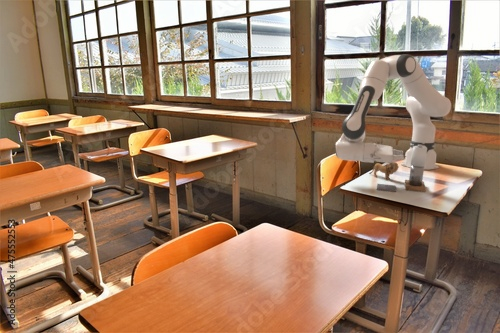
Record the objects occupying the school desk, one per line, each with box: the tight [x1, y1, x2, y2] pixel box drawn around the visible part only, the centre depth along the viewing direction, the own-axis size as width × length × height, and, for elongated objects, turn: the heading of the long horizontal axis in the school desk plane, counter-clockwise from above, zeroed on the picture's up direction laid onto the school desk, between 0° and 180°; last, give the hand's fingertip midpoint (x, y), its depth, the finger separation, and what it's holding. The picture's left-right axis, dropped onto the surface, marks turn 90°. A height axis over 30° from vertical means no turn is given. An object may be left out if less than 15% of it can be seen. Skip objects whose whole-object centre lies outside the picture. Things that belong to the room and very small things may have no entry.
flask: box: [408, 165, 425, 186], centre depth 169 cm, size 5×5×9 cm
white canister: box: [411, 145, 427, 167], centre depth 167 cm, size 6×6×9 cm
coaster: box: [376, 183, 397, 193], centre depth 171 cm, size 8×8×1 cm
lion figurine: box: [368, 161, 399, 181], centre depth 187 cm, size 15×5×9 cm, turn 43°
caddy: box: [404, 179, 427, 193], centre depth 172 cm, size 10×8×4 cm
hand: (403, 155), depth 169 cm, fingers open, 8 cm apart
